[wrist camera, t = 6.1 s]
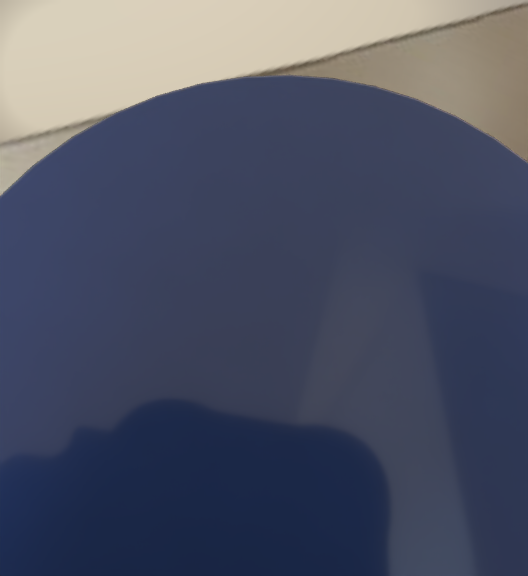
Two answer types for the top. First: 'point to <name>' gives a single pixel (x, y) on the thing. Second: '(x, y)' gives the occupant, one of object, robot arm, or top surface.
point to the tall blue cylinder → (266, 341)
